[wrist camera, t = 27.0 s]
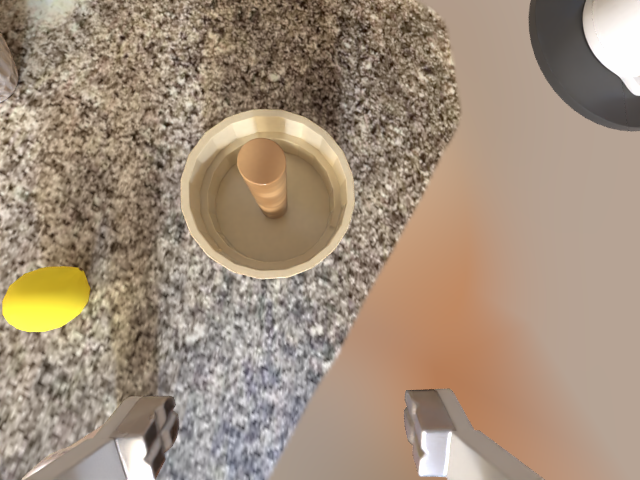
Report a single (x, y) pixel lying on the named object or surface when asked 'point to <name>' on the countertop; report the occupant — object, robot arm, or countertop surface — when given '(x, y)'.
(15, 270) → the countertop surface
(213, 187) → the bowl
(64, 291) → the lemon
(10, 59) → the vase
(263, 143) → the stick
